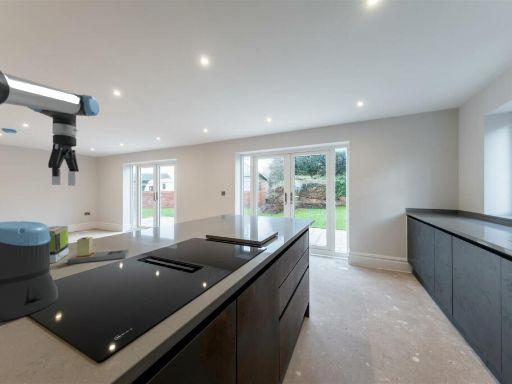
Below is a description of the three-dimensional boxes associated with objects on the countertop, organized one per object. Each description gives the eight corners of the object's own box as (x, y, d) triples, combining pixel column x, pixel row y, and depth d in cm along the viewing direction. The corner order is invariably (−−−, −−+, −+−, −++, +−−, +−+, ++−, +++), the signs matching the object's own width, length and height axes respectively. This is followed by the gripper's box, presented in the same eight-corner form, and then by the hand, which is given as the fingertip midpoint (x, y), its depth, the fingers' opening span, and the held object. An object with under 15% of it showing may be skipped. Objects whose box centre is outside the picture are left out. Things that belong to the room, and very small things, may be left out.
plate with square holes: (125, 258, 100) (125, 253, 100) (67, 263, 92) (67, 258, 92) (128, 253, 107) (128, 248, 107) (75, 258, 99) (75, 253, 99)
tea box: (43, 256, 103) (42, 226, 103) (69, 253, 107) (69, 225, 107) (25, 266, 89) (25, 232, 89) (56, 263, 93) (55, 230, 93)
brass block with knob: (89, 260, 96) (89, 238, 96) (77, 262, 94) (76, 239, 94) (92, 257, 100) (92, 236, 100) (81, 259, 99) (81, 237, 98)
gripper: (61, 129, 79) (61, 184, 79) (86, 143, 103) (87, 185, 103) (35, 126, 77) (35, 184, 77) (67, 141, 100) (67, 185, 100)
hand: (65, 185), depth 90 cm, fingers open, 13 cm apart
